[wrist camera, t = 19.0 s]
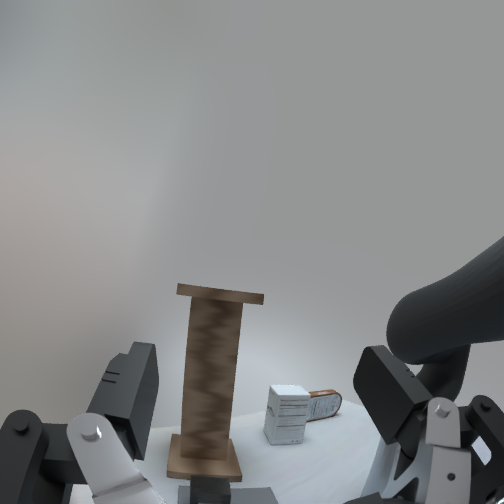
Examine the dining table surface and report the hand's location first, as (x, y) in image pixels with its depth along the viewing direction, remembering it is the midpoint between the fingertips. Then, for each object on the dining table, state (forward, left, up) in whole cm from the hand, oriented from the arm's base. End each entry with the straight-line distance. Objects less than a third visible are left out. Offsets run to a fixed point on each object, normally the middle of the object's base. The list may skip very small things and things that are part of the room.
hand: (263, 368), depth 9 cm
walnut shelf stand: (0, -35, -28) cm, 45 cm away
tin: (-31, -55, -28) cm, 69 cm away
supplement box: (-18, -45, -28) cm, 56 cm away
